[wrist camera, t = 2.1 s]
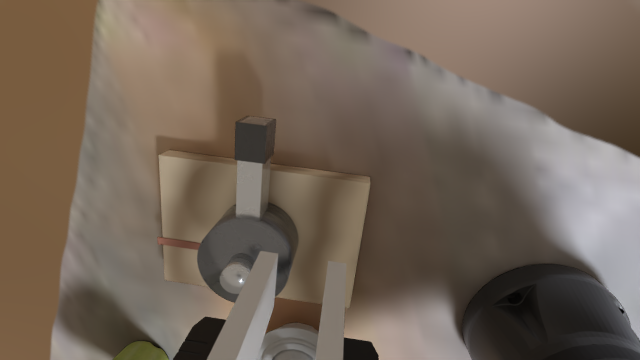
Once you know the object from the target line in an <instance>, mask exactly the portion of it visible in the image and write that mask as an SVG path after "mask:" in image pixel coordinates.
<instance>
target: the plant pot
mask: <svg viewBox="0 0 640 360" xmlns="http://www.w3.org/2000/svg"><path fill="white" fill-rule="evenodd" d="M113 360H169V359H168V357H167V355H166V354H165V352H164V351H163V350H162V349H160V348H156V347H155V346H153V345H152V344H151V343H150V342H146V341H136V342H133V343H130V344H129V345H127V346H126V347H125V348H124V349H123V350H122V351H121V352H120V353H119V354H118V355H117V356H116V357H115V358H114V359H113Z"/></svg>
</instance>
